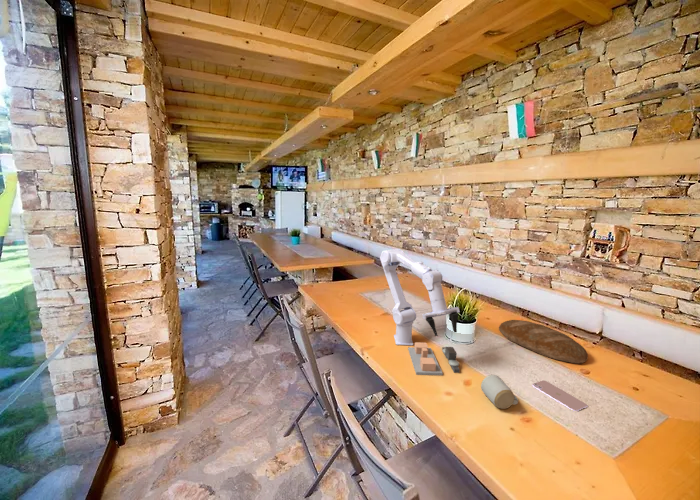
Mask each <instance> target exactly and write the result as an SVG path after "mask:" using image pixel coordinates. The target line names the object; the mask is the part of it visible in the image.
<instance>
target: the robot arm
mask: <svg viewBox="0 0 700 500" xmlns="http://www.w3.org/2000/svg"><path fill="white" fill-rule="evenodd" d="M379 259H380V262H381V266H382V268H383V273H384V275H385V279H386V281H387V284H388V287H389V290H390V293H391V296H392V300H393V302H394V307H393V308H392V310H391V311H392V319H393V321H394V324H396V325H395V334H393V338H394V342H395V345H396V346H414V343H413V339H412V335H413V324H414V322H415V321H416V319H417V312H416V310H415V309H414V308H413V305H412V303H410V302H407V300H406V297H405V294H404V291H403V288H402V286H401V283H400V279H399V276H398V274H397V270H396V269H397V268H398V267H399V265H400V264H403V265H404V266H406V267H407V268H409V269H410V270H411V271H410V272H411V273H412V274H414V275H415V276H416V277H418V278H419V279H421V281H422V284H423V285H424V286H425V289H426V290H427V292H428V297H429V301H430V305H431V310H432V311H431V312H430V311H429V312H427V313H422V314H421V315H422V319H423V320H425V321H426V322H427V324H428V325H429V326H430V328H431V330H432V332H433V335H434V336H435V337H438V333H437V327H436V324H435V323H436V322H435V319H434V318H436V317H440V316H446V315H448V316H449V319H450V322H451V326H452V330H453V332H454V333H457V332H458V330H457V329H458V328H457V327H458V326H457V325H458V318H459V313H460V312H461V311H460V307H458V306H456V307H451V308H450V307H449V308H448V306H447V302H446V299H445V295H444V289H443V286H442V281H443V274H442V272H441V271H439V269H432V267H428V265H426V264H424V262H423V261H415V260H414V259H413V258H411V257H410V256H408V255H407V254H406V253H405V251H404V250H403V249H400V248H396V249H395V248H394V249H387V250H386V249H385V250H382V252H381V254H380V256H379Z"/></svg>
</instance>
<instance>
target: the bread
mask: <svg viewBox="0 0 700 500" xmlns="http://www.w3.org/2000/svg"><path fill="white" fill-rule="evenodd" d="M498 331H499V332H500V333H501V335H503V336H504V337H505V338H506V339H507V340H508V341H511V342H512V343H514V344H516V345H519V346H521V347H523V348H525V349H527V350H530V351H532V352H534V353H537V354H539V355H542V356H544V357H548V358H550V359H553V360H556V361H560V362H561V361H562V362H566V363H572V364H578V365H579V364H583V363H585V362H587V360H588V359H589V354H588V352H587V350H586V349H585V347H583V345H581V344H580V343H579V342H577V341H576V340H575V339H574V338H572V337H571V336H569V335H567V334H565V333H563V332H561V331H559V330H555V329H554V328H551V327H548V326H546V325H543V324H540V323H535V322H532V321H527V320H520V319H510V320H506V321H503V322H501V323H500V324H499V326H498Z"/></svg>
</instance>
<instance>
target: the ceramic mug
mask: <svg viewBox="0 0 700 500" xmlns="http://www.w3.org/2000/svg"><path fill="white" fill-rule="evenodd" d="M480 388H481V389H480V390H481V391H482V392H483V393H482V394H484V395H485V396H486V397H487V399H489V401H490V402H491V403H492V404H493V405H494V406H495V407H497V408H498V409H502V410H503V409H505V410H506V409H508V408H510V407H511V406H512V405H514V406H516V405H518V403H519V399H518V397H517V396H516V395H515V394H514V392H513V391H512V389H511V387H509V386H508V385H507V384H506V383H505V382H504V381H503V379H502V378H501V377H500V376H499V375H496V374H490V375H488V376H485V377H484V378H483V380H482V381H481V385H480Z"/></svg>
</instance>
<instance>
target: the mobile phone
mask: <svg viewBox="0 0 700 500" xmlns="http://www.w3.org/2000/svg"><path fill="white" fill-rule="evenodd" d="M531 387H533V389H535V390H537V391H538V392H541V393H542V394H543V393H544V395H546V397H549V399H550V398H551V400H554V401H555V402H556V403H558V404H560V405H562V406H563V405H564V406H563V407H565V408H566V407H567V409H568V408H569V410H570V409H571V410H573V411H572V412H574V411H578V412H580V411H579V410H581V409H583V408H585V409H587V408H588V406H589V405H588V404H587V403H585V402H584V401H582V400H580V399H578V398H577V397H575V396H574V395H572V394H570V393H568V392H566V391H565V390H563V389H561V388H559V387H558V386H555V385H554V384H553V383H550V382H549V381H547V380H541V381H540V380H539V381H538V382H534V383H532V384H531ZM586 407H587V408H586ZM571 410H570V411H571ZM583 410H584V409H583ZM581 411H582V410H581Z"/></svg>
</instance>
